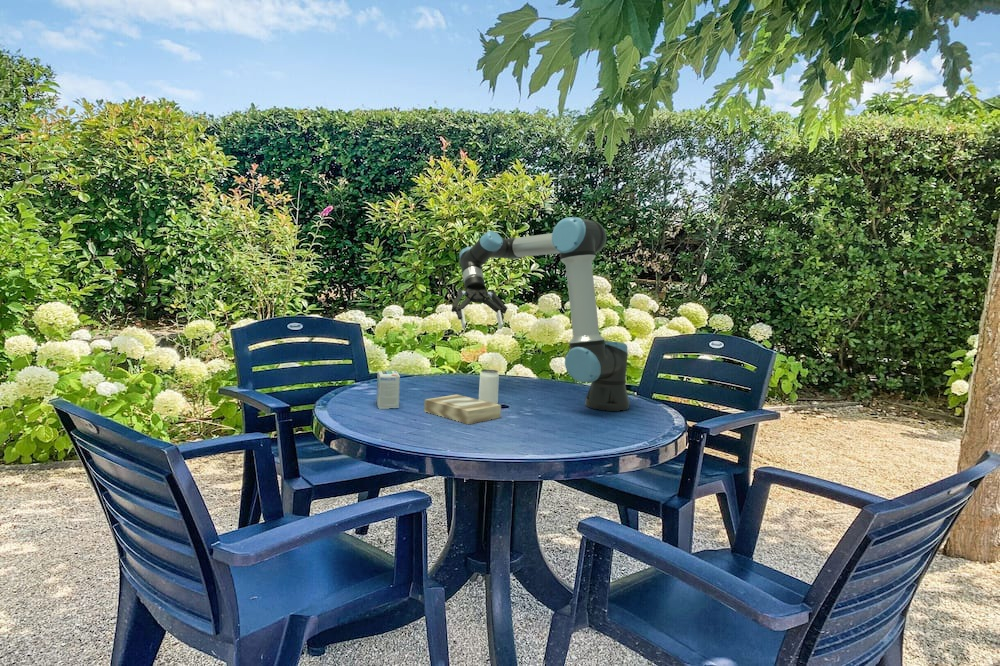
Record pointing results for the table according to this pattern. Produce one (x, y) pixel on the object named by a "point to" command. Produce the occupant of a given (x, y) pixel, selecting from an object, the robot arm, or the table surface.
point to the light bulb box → (388, 389)
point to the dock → (463, 408)
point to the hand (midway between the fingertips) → (482, 326)
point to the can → (489, 386)
